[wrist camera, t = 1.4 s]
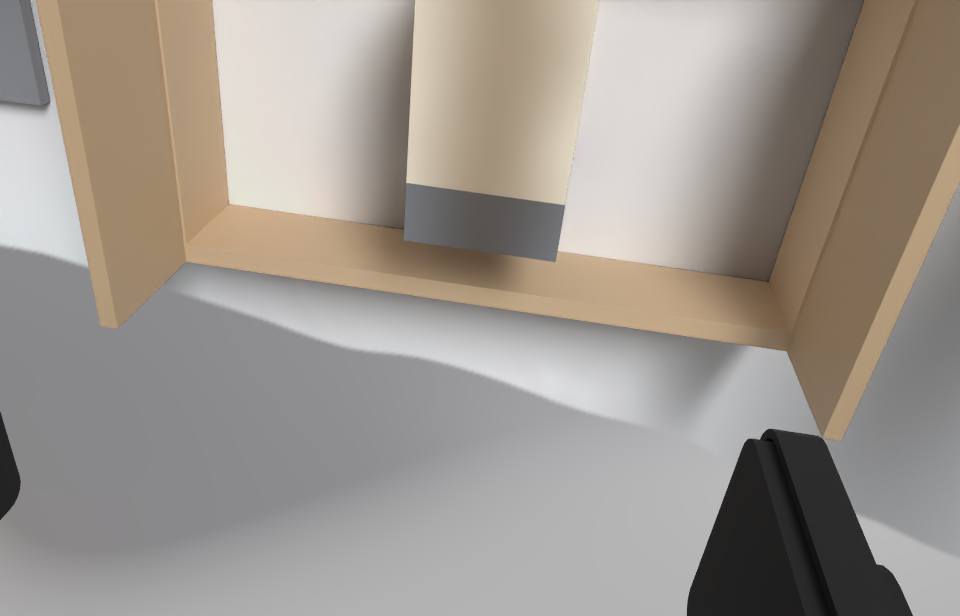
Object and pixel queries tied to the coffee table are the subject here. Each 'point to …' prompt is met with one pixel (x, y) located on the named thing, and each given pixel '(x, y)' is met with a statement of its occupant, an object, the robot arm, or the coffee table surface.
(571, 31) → the block
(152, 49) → the carton
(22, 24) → the grey mat
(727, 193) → the coffee table surface
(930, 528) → the coffee table surface
